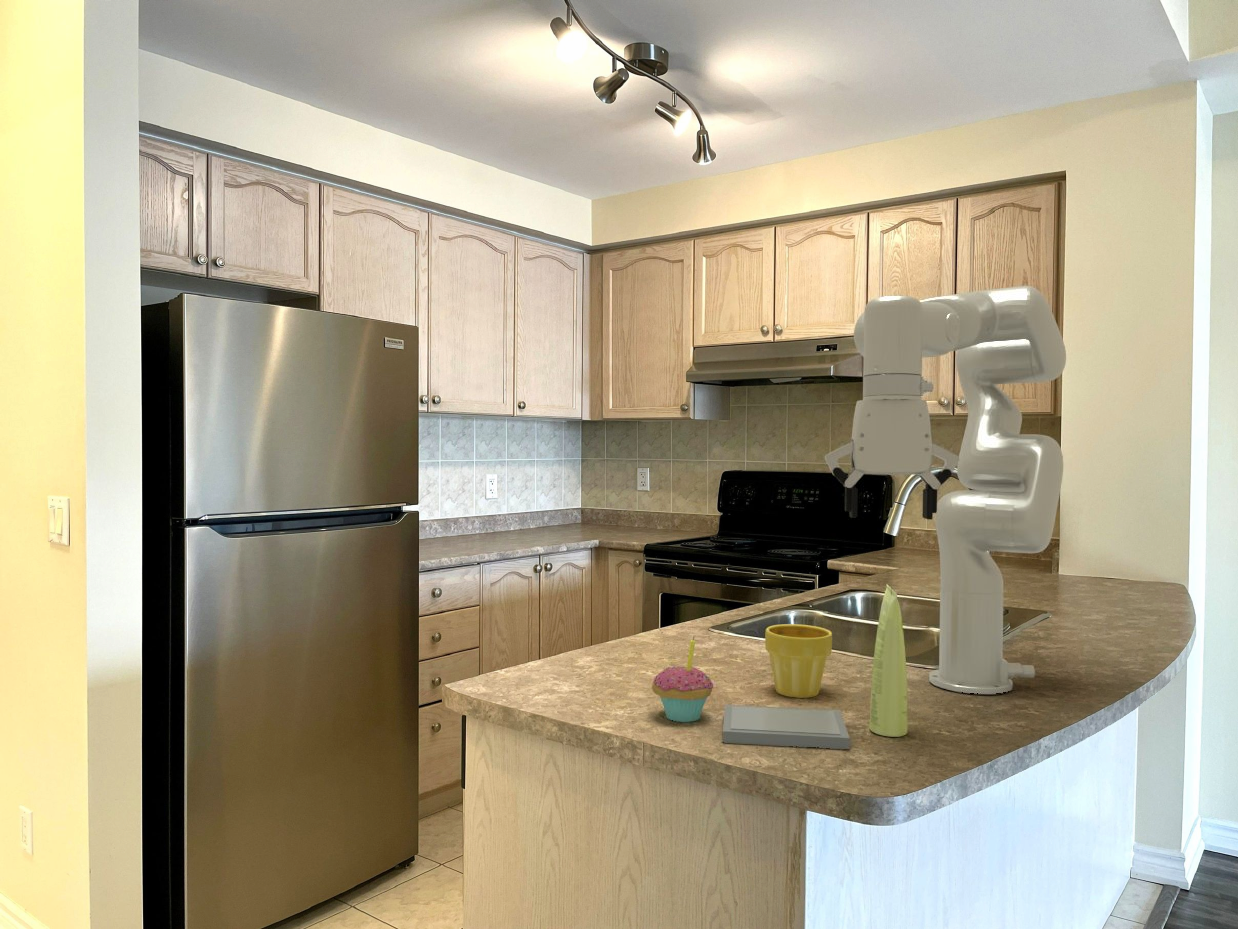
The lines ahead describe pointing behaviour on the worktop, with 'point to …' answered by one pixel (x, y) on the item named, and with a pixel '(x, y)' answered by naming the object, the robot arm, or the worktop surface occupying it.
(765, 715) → the grey flat block
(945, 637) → the robot arm
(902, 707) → the tube
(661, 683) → the cupcake
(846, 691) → the worktop surface
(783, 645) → the plant pot
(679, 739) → the worktop surface
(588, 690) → the worktop surface
